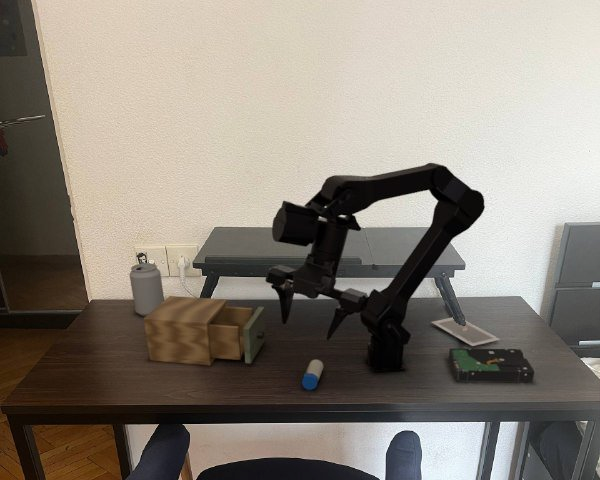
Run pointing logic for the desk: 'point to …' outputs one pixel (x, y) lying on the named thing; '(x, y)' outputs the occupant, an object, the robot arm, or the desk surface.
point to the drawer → (237, 333)
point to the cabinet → (182, 329)
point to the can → (146, 287)
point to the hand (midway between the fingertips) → (305, 331)
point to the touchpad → (466, 332)
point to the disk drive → (490, 365)
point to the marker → (312, 374)
